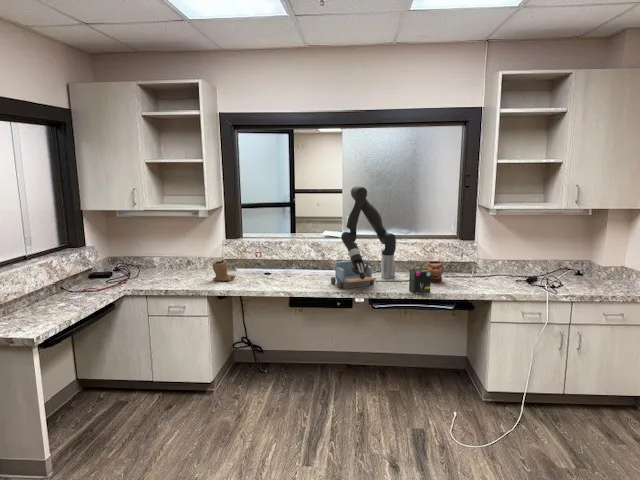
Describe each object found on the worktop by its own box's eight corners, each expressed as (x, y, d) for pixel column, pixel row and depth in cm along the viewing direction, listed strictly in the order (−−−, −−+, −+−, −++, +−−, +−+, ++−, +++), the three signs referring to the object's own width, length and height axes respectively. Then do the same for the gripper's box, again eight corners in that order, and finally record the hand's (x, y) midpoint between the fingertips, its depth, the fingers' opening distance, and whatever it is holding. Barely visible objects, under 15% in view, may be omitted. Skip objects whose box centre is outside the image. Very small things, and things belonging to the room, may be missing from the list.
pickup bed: (363, 279, 304) (363, 257, 301) (374, 285, 288) (374, 262, 285) (330, 282, 295) (330, 260, 292) (339, 289, 279) (339, 266, 277)
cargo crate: (362, 275, 290) (362, 270, 290) (365, 277, 287) (365, 271, 286) (357, 276, 289) (357, 270, 288) (360, 277, 285) (360, 272, 285)
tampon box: (415, 294, 266) (416, 272, 263) (408, 290, 274) (409, 269, 272) (430, 293, 269) (431, 271, 266) (423, 289, 277) (424, 267, 275)
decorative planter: (422, 277, 308) (423, 258, 305) (439, 277, 307) (440, 258, 305) (428, 284, 288) (429, 265, 286) (446, 284, 287) (447, 265, 285)
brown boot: (210, 282, 300) (209, 262, 298) (216, 278, 312) (215, 258, 309) (230, 283, 298) (229, 262, 295) (236, 278, 309) (235, 259, 307)
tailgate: (370, 276, 285) (376, 277, 276) (370, 279, 285) (376, 280, 276) (345, 279, 278) (350, 280, 270) (345, 282, 278) (350, 283, 270)
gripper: (348, 254, 277) (355, 276, 268) (366, 252, 282) (374, 274, 273) (345, 260, 283) (352, 282, 274) (362, 259, 288) (370, 280, 278)
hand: (363, 278), depth 273 cm, fingers closed
